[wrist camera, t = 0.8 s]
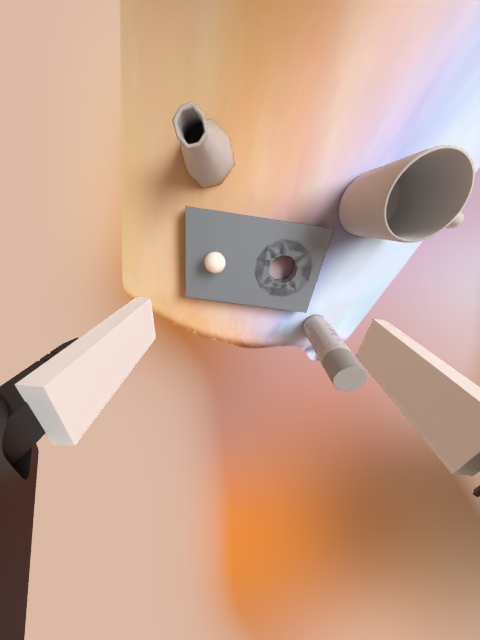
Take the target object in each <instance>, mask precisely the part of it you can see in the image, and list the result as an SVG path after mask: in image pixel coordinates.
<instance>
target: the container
mask: <svg viewBox="0 0 480 640" xmlns="http://www.w3.org/2000/svg"><path fill="white" fill-rule="evenodd" d="M303 329H304V331H305V333H306V335H307V337H308V339H309V341H310V343H311V345H312V347H313V349H314V350H315V352H316V354H317V356H318V358H319V360H320V362H321V364H322V365H323V367H324V369H325V371H326V372H327V374H328V376H329V378H330V380H331V381H332V383H333V385H334V386H335V388H337V389H338V390H341V391H351V390H355V389H357V388H359V387H361V386H362V385H363V384H364V383H365V382H366V380H367V373H366V371H365V370H364V369H363V367H362V366H361V364H360V363H359V362H358V360H357V359H356V358H355V356H354V355H353V354H352V352H351V351H350V350H349V348H348V347H347V346H346V344H345V343H344V342H343V341H342V339H341V338H340V337H339V336H338V334H337V333H336V332H335V330H334V329H333V328H332V327H331V325H330V324H329V323H328V322H327V320H326V319H325V318H324V317H323V316H321V315H312V316H310V317H308V318H307V319H306V320H305V321H304V323H303Z"/></svg>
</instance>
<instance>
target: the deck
mask: <svg viewBox="0 0 480 640" xmlns="http://www.w3.org/2000/svg"><path fill="white" fill-rule="evenodd" d="M333 230H334V229H333V228H326V227H320V226H313V225H307V224H300V223H293V222H287V221H280V220H274V219H267V218H261V217H254V216H247V215H241V214H234V213H228V212H221V211H215V210H208V209H201V208H195V207H188V206H185V246H186V297H192V298H199V299H207V300H214V301H222V302H229V303H237V304H245V305H252V306H260V307H267V308H275V309H282V310H290V311H297V312H305V313H306V312H307V309H308V306H309V303H310V300H311V297H312V294H313V291H314V288H315V285H316V282H317V279H318V276H319V273H320V269H321V266H322V263H323V260H324V257H325V254H326V251H327V248H328V245H329V242H330V239H331V236H332V233H333ZM211 252H219V253H220V254H222V255H223V257H224V258H225V267H224V269H223V270H222V271H221V272H219V273H212V272H210V271H208V270H207V268H206V266H205V258H206V256H207V255H208V254H209V253H211ZM282 255H286V256H291V257H292V258H293V262H294V268H293V272H292V273H291V274H290V275H289V276H288V277H287V278H284V279H282V280H279V279H274V278H273V277H271V276H270V274H269V267H270V264H271V263H272V261H273V260H274V259H275V258H277V257H279V256H282Z"/></svg>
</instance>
